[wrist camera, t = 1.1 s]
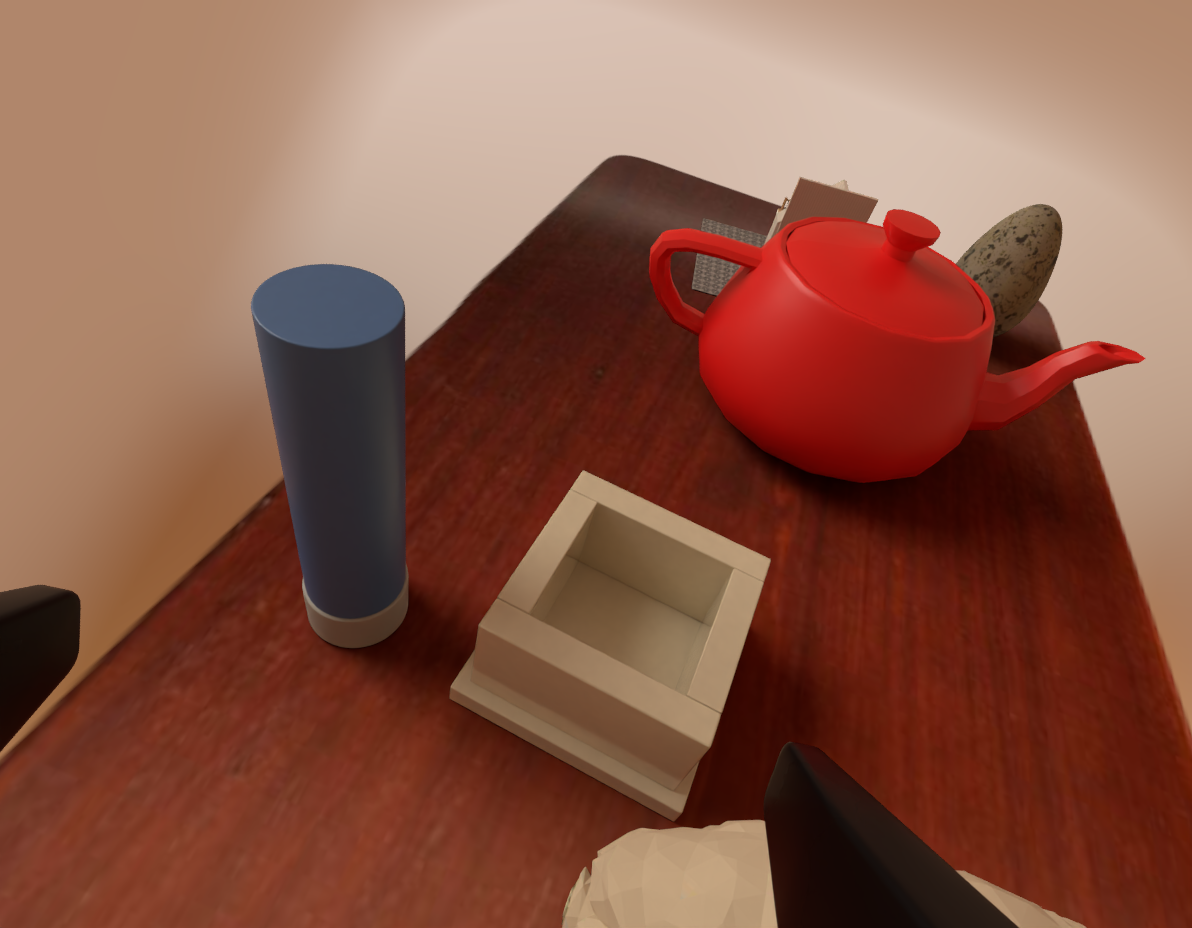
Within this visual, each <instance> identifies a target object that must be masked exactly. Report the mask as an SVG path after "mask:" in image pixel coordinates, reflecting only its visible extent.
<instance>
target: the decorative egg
mask: <svg viewBox="0 0 1192 928" xmlns="http://www.w3.org/2000/svg"><path fill="white" fill-rule="evenodd" d="M1061 240H1062V222H1061V218H1060V215H1059V214H1058V212H1057V211H1056V210H1055V209H1054V208H1053V207H1051V206H1049V205H1043V204H1038V205H1032V206H1029V207H1026V208H1023V209H1021V210H1019V211H1017V212H1015V213H1013V214H1012V215H1010V216H1008V217H1006V218H1005V219H1003V220H1002V221H1000V222H999V223H998V224H997V225H995V226H994V227H992V228H991V229H990V230H989V231H988V232H987V233H985V234H984V235H983V236H982V237H981V238H980V239H979V240H977V241H976V242H975V244H973V245H972V246H971V247H970V248H969V250H968V251H966V253H965V254H964V255H963V256H962V257H961V258H960V260H959V261H958V262H957V263H956V265H957V266H958V267H959V268H960V269H961V270H963V271H964V272H965V273H966V274H967V275H968V276H969V277H970V278H972V279H973V280H974V281H975V282H976V283H977V284H978V285H979V286H980V287H981V288H982V290H983V291H984V292H985V294H986V295H987V296H988V297H989V299H990V302H991V305H992V307H993V311H994V316H995V326H994V333H993V337H996V336H998V335H1001V334H1003V333H1005V332H1007V331H1009V330H1010V329H1012V328H1013V327H1015V326H1016V325H1017V324H1018V323H1020V322H1021V321H1022V320H1023V319H1024V318H1025V317H1026V316H1027V315H1028V314H1029V312H1030V311H1031V310H1032V309H1033V307H1034V306H1035V304H1036V303H1037V301H1038V300H1039V298H1040V297H1041V295H1042V293H1043V291H1044V289H1045V287H1046V285H1047V283H1048V281H1049V279H1050V277H1051V274H1052V272H1053V269H1054V266H1055V264H1056V260H1057V258H1058V254H1059V250H1060V246H1061Z"/></svg>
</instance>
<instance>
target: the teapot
mask: <svg viewBox="0 0 1192 928" xmlns="http://www.w3.org/2000/svg"><path fill="white" fill-rule="evenodd" d="M939 236H940V230H939V229H938V227H937V226H936V225H935V224H933V223H932V222H931V221H929V220H928V219H926V218H924V217H922V216H920V215H917V214H915V213H912V212H909V211H905V210H896V209H893V210H890V211H888V212H887V215H886V217H885V220H884V223H883V227H881V226H877V225H873V224H869V223H864V222H860V221H856V220H852V219H848V218H837V217H809V218H806V219H802V220H799V221H796V222H792V223H789V224H788V225H786V226H785V227H784V228H783V229H782V230H781V231H779V232H778V233H777V234H776V235H775V236H774V237H772V238H771V239H770V240H769V241H768V242H767V243H765V244H764V245H763V246H762V247H761V248H759V247H756V246H753V245H750V244H747V243H743V242H740V241H737V240H734V239H731V238H727V237H724V236H721V235H717V234H712V233H708V232H703V231H699V230H694V229H690V228H686V229H676V230H667V231H665V232H663V233H662V234H661V235H660V237H659V238H658V239H657V240H656V242H655V243H654V244H653V246H652V247H651V249H650V263H649V275H650V279H651V282H652V285H653V288H654V291H655V294H656V297H657V300H658V301H659V303H660V304H661V305H662V307H663V308H664V310H665V311H666V313H667V314H668V316H669V317H670V319H671V320H672V322H673V323H675V324H677V325H679V326H680V327H682V328H684V329H686V330H688V331H690V332H691V333H693V334H695V335H697V336H698V345H699V365H700V376H701V378H702V379H703V381H704V383H705V385H706V387H707V389H708V390H709V392H710V394H711V395H712V397H713V399H714V400H715V402H716V404H717V405H718V407H719V408H720V410H721V412H722V413H723V415H724V417H725V418H726V420H728V421H729V422H730V423H731V424H732V425H733V426H735V427H736V428H737V429H738V430H739V431H740V432H742V433H743V434H744V435H745V436H746V437H747V438H749V439H750V440H751V441H752V442H753V443H755V444H756V445H757V446H758V447H759V448H760V449H762V450H763V451H764V452H766V453H768V454H770V455H773V456H775V457H777V458H779V459H781V460H783V461H785V462H787V463H789V464H791V465H793V466H795V467H797V468H799V469H801V470H804V471H806V472H809V473H813V474H818V475H823V476H828V477H833V478H838V479H843V480H848V481H853V482H858V483H866V482H877V481H884V480H891V479H899V478H906V477H913V476H917V475H919V474H920V473H922V472H923V471H925V470H926V469H928V468H930V467H931V466H933V465H934V464H935V463H936V462H938V461H939V460H940V459H942V458H943V457H944V456H945V455H947V454H948V453H949V452H950V451H952V450H953V449H954V448H955V447H957V446H958V445H959V444H960V443H961V441H962V439H963V438H964V436H965V434H966V432H967V431H971V430H999V429H1001V428H1002V427H1004V426H1006V425H1008V424H1009V423H1011V422H1013V421H1015V420H1017V419H1018V418H1020V417H1022V416H1024V415H1025V414H1027V413H1029V412H1031V411H1032V410H1034V409H1036V408H1038V407H1039V406H1040V405H1042V404H1043V403H1044V402H1046V401H1047V400H1048V399H1050V398H1051V397H1052V396H1054V395H1055V394H1056V393H1058V392H1059V391H1060V390H1062V389H1063V388H1064V387H1066V386H1067V385H1068V384H1070V383H1071V382H1072V381H1074V380H1075V379H1077V378H1081V377H1084V376H1088V375H1091V374H1094V373H1098V372H1101V371H1104V370H1108V369H1112V368H1115V367H1118V366H1122V365H1125V364H1133V363H1139V362H1141V361H1143V360H1144V359H1145V358H1144V357H1143V356H1141V355H1139V354H1138V353H1137V352H1135V351H1132V350H1130V349H1127V348H1124V347H1122V346H1119V345H1114V344H1109V343H1104V342H1100V341H1093V342H1092V341H1091V342H1087V343H1084V344H1081V345H1077V346H1075V347H1071V348H1068V349H1065V350H1062V351H1059V352H1056V353H1054V354H1052V355H1050V356H1048V357H1046V358H1044V359H1042V360H1040V361H1038V362H1037V363H1035V364H1033V365H1031V366H1029V367H1026V368H1023V369H1019V370H1016V371H1012V372H1009V373H1005V374H1002V375H994V374H991V373H988V372H986V371H987V366H988V362H989V357H990V352H991V348H992V340H993V333H994V326H995V316H994V311H993V307H992V305H991V302H990V299H989V297H988V296H987V295H986V294H985V292H984V291H983V290H982V288H981V287H980V286H979V285H978V284H977V283H976V282H975V281H974V280H973V279H972V278H970V277H969V276H968V275H967V274H966V273H965V272H964V271H963V270H961V269H960V268H959V267H958V266H957V265H956V264H955V263H953V262H952V261H951V260H949V259H947V258H946V257H944V256H942V255H941V254H939V253H937V252H935V251H934V250H932V249H931V248H929V247H928V246H931V245H933V244H934V242H935V241H936V240H937V239H938V237H939ZM674 252H695V253H699V254H703V255H707V256H711V257H715V258H719V259H722V260H725V261H728V262H732V263H735V264H738V265H741V267H740V268H739V269H738V270H737V272H736V273H735V274H734V275H733V276H732V278H731V279H730V280H729V281H728V283H727V284H726V285H725V286H724V288H723V289H722V290H721V292H720V293H719V294H718V296H717V297H716V298H715V300H714V301H713V302H712V304H711V305H710V306H709V308H708V309H707V311H706V313H705V314H703V313H702V312H700V311H698V310H696V309H694V308H693V307H691V306H689V305H687V304H685V303H684V302H683V301H682V299H681V297H680V295H679V293H678V291H677V289H676V288H675V286H674V284H673V281H672V276H671V272H670V262H671V255H672V254H673V253H674Z"/></svg>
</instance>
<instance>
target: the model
mask: <svg viewBox="0 0 1192 928" xmlns="http://www.w3.org/2000/svg"><path fill="white" fill-rule="evenodd" d="M955 871H956V870H955ZM957 872H958V873H959V874H960V875H961V876H962V877H963V878H964V879H966V880H967V881H968V882H969V883H970V884H971V885H972V886H973V887H974V888H976V889H977V890H978V891H979V892H980V893H981V894H982V895H983V896H985V897H986V898H987V899H988V900H989V901H990V902H991V903H992V904H993V905H995V906H996V907H997V908H998V909H999V910H1000V911H1001V912H1002V913H1004V914H1005V915H1006V916H1007V917H1008V918H1009V919H1010V920H1011V921H1012V922H1014V923H1015V924H1016V925H1017V926H1018V927H1019V928H1086V927H1085V926H1083V925H1081V924H1079V923H1077V922H1074V921H1072V920H1070V919H1067V918H1063V917H1060V916H1059V915H1057V914H1056V913H1054V912H1052V911H1048V910H1044V909H1042V908H1041V907H1040V906H1039V905H1037V904H1034V903H1032V902H1030V901H1028V900H1026V899H1024V898H1021V897H1019V896H1017V895H1015V894H1013V893H1011V892H1008V891H1006V890H1004V889H1002V888H1000V887H998V886H995V885H993V884H991V883H989V882H987V881H985V880H982V879H980V878H978V877H976V876H974V875H972V874H969V873H967V872H965V871H957ZM575 883H576V882H575ZM574 886H575V887H574ZM574 886H573V887H574V888H572V889H571V891H570V894H569V897H568V900H567V903H566V906H565V909H564V912H563V918H564V919H563V920H564V921H563V920H562V921H563V922H562V923H563V927H562V928H777V920H776V913H775V905H774V896H773V888H772V879H771V870H770V862H769V853H768V845H767V836H766V827H765V821H762V820H740V821H726V822H724V823H723V824H721V825H710V826H707V827H705V828H703V829H697V828H687V827H680V828H672V829H664V830H655V829H647V828H639V829H637V830H634V831H631V832H628V833H627V834H625V835H624V836H622V837H620V838H619V839H617V840H615V841H614V842H612V843H611V844H609V845H607V846H606V847H604V848H603V849H601V850H599V851H598V858H596V859H594V860H593V862H592V875H590V873H589V871H588V870H587V868H586V866H585V868H584V869H583V871H582V872H581V874H580V877H579V880H577V883H576V885H574Z"/></svg>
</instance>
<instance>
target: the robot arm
mask: <svg viewBox="0 0 1192 928" xmlns="http://www.w3.org/2000/svg"><path fill="white" fill-rule="evenodd" d="M79 637H80V599H79V597H78V595H77V594H75V593H74V592H73V591H69V590H65V589H60V588H56V587H50V586H46V585H35V586H30V587H25V588H20V589H14V590H9V591H4V592H0V752H1V751H2V749H3V748H4V747H5V746H6V745H7V744H8V743H9V741H10V740H11V739H12V738H13V736H15V734H16V733H17V732H18V731H19V730H20V729H21V728H22V726H23V725H24V724H25V723H26V722H27V720H28V719H29V718H30V717H31V716H32V715H33V714H34V712H35V711H36V710H37V709H38V708H39V707H40V705H41V704H42V703H43V702H44V701H45V700H46V698H47V697H48V696H49V695H50V694H51V693H52V691H53V690H54V689H55V688H56V687H57V686H58V685H59V683H60V682H61V681H62V680H63V679H64V678H65V676H66V675H67V674H68V673H69V672H70V670H71V669H72V667H73V666H74V664H75V662H76V659H77V656H78V653H79ZM764 819H765V827H766V836H767V845H768V853H769V862H770V870H771V879H772V888H773V896H774V905H775V913H776V920H777V928H1019V927H1018V926H1017V925H1016V924H1015V923H1014V922H1012V921H1011V920H1010V919H1009V918H1008V917H1007V916H1006V915H1005V914H1004V913H1002V912H1001V911H1000V910H999V909H998V908H997V907H996V906H995V905H993V904H992V903H991V902H990V901H989V900H988V899H987V898H986V897H985V896H983V895H982V894H981V893H980V892H979V891H978V890H977V889H976V888H974V887H973V886H972V885H971V884H970V883H969V882H968V881H967V880H966V879H964V878H963V877H962V876H961V875H960V874H959V873H958V872H957V871H955V870H954V869H953V868H952V867H951V866H950V865H949V864H948V863H947V862H945V861H944V860H943V859H942V858H941V857H940V856H939V855H938V854H936V853H935V852H934V851H933V850H932V849H931V848H930V847H929V846H928V845H926V844H925V843H924V842H923V841H922V840H921V839H920V838H919V837H917V836H916V835H915V834H914V833H913V832H912V831H911V830H910V829H909V828H907V827H906V826H905V825H904V824H903V823H902V822H901V821H900V820H899V819H897V818H896V817H895V816H894V815H893V814H892V813H891V812H890V811H888V810H887V809H886V808H885V807H884V806H883V805H882V804H881V803H880V802H878V801H877V800H876V799H875V798H874V797H873V796H872V795H871V794H869V793H868V792H867V791H866V790H865V789H864V788H863V787H862V786H861V785H859V784H858V783H857V782H856V781H855V780H854V779H853V778H852V777H851V776H849V775H848V774H847V773H846V772H845V771H844V770H843V769H842V768H840V767H839V766H838V765H837V764H836V763H835V762H834V761H833V760H832V759H830V758H829V757H828V756H827V755H826V754H825V753H824V752H823V751H822V750H820V749H819V748H817V747H814V746H809V745H804V744H799V743H794V742H789V743H787V744H785V745H784V747H783V748H782V750H781V752H780V754H779V757H778V760H777V763H776V765H775V768H774V771H773V773H772V776H771V779H770V781H769V784H768V787H767V790H766V793H765V797H764Z"/></svg>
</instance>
